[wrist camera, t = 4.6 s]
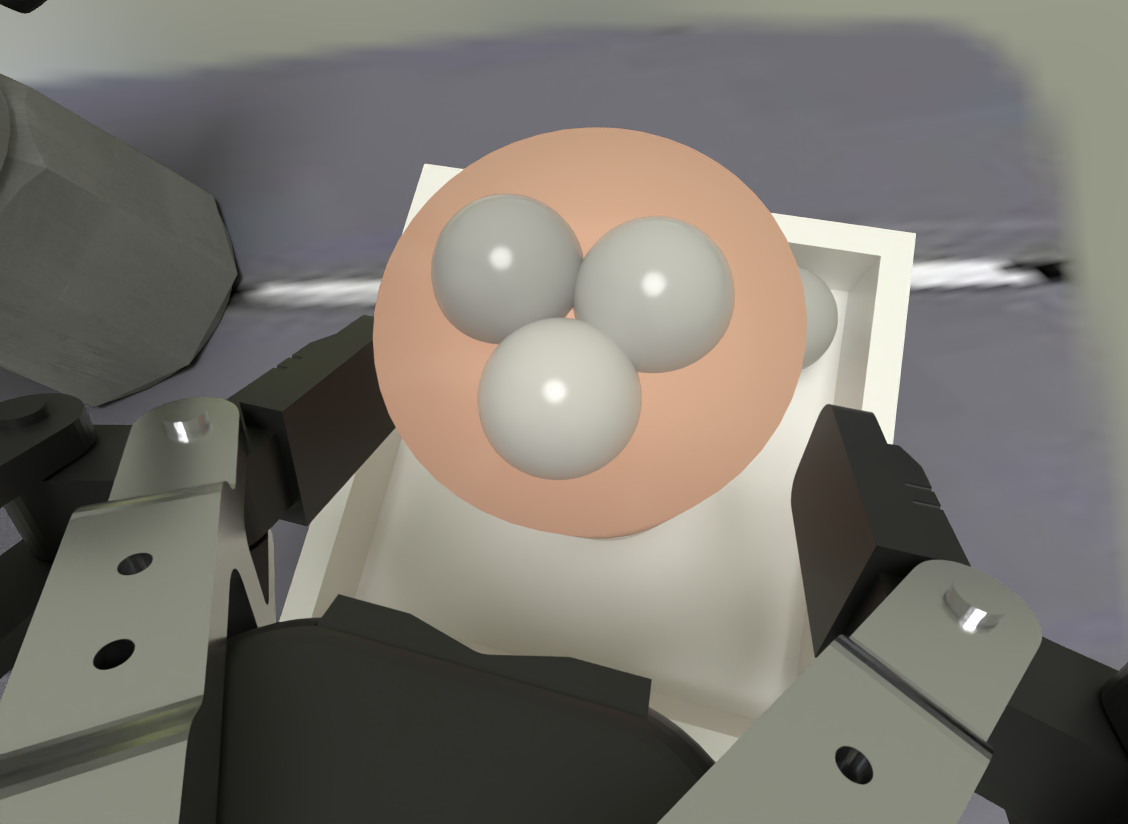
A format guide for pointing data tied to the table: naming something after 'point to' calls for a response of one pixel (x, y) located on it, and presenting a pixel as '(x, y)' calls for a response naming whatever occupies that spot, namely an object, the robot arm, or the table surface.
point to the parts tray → (652, 559)
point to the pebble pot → (590, 331)
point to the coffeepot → (99, 254)
